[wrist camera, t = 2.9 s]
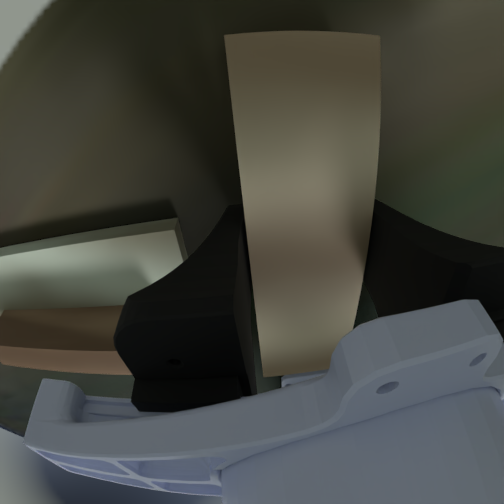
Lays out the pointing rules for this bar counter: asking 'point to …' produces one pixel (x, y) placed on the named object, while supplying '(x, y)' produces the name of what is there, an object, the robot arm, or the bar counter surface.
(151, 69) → the bar counter surface
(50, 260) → the fulcrum stand
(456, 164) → the bar counter surface
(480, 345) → the robot arm
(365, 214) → the birch bar
